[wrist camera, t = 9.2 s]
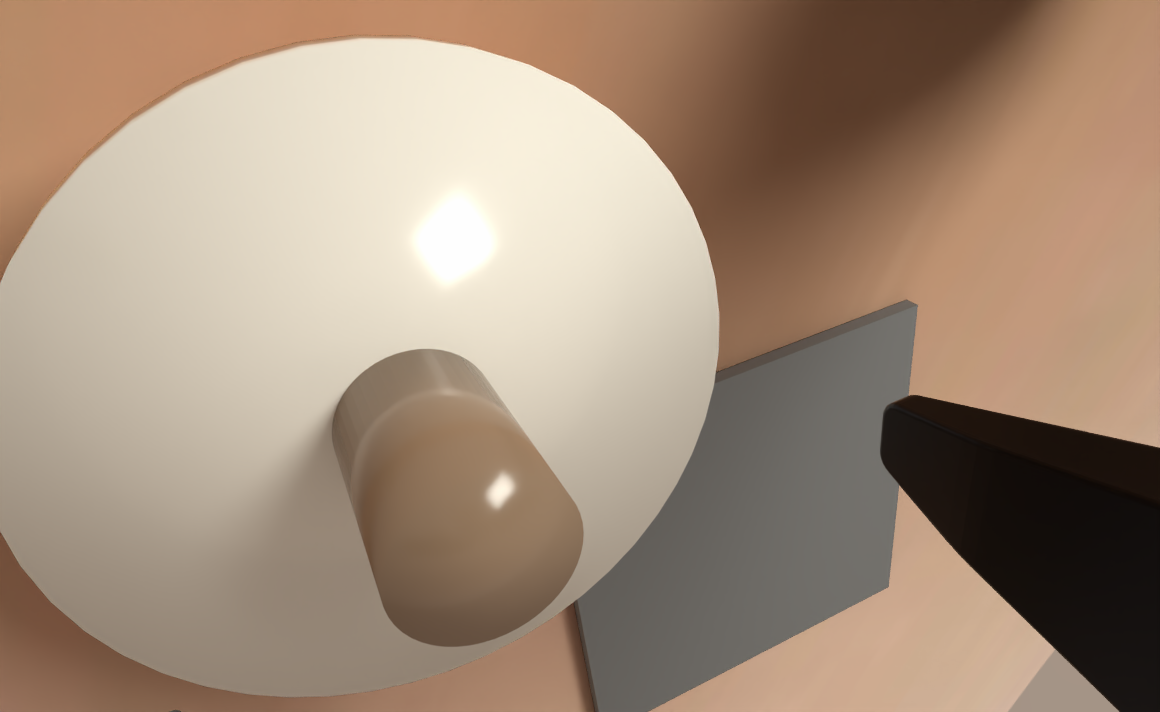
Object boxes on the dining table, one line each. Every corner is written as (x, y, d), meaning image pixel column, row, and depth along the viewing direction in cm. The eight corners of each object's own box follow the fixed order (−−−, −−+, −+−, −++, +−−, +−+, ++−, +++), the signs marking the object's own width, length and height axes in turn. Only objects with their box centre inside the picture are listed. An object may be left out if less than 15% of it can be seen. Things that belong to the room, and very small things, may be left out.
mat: (906, 299, 27) (917, 305, 27) (880, 579, 35) (888, 587, 34) (541, 439, 23) (548, 447, 23) (597, 724, 30) (603, 734, 30)
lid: (672, -33, 14) (879, -24, 10) (707, 519, 20) (839, 661, 16) (-227, 146, 10) (-509, 286, 6) (182, 754, 16) (184, 1016, 12)
